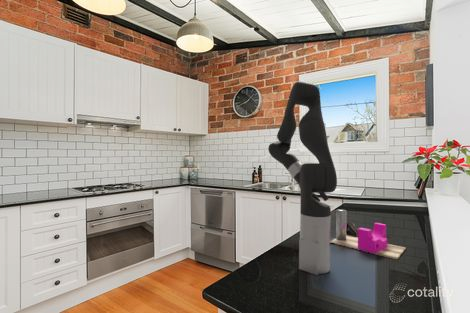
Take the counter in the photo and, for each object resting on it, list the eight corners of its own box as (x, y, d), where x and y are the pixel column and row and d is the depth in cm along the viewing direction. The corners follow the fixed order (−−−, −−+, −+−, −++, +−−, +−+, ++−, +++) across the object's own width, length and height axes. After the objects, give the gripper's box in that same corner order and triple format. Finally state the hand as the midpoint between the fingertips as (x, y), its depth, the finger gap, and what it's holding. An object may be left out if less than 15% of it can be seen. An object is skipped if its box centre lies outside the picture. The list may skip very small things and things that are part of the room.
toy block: (374, 253, 98) (375, 232, 98) (357, 248, 103) (358, 228, 102) (392, 244, 107) (392, 225, 107) (376, 240, 112) (376, 222, 112)
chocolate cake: (369, 239, 118) (358, 215, 127) (357, 236, 116) (347, 212, 124) (352, 248, 124) (343, 225, 133) (341, 246, 121) (332, 222, 130)
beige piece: (397, 259, 94) (397, 223, 94) (329, 243, 110) (329, 212, 110) (405, 249, 104) (406, 216, 104) (342, 235, 120) (343, 207, 120)
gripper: (297, 168, 119) (321, 197, 112) (312, 167, 130) (335, 193, 122) (286, 179, 123) (309, 208, 116) (302, 177, 134) (324, 204, 126)
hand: (323, 201), depth 119 cm, fingers open, 8 cm apart
